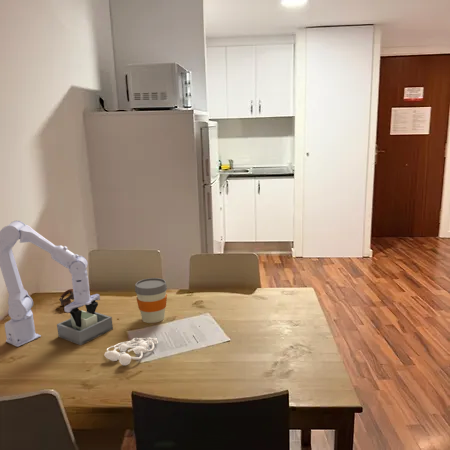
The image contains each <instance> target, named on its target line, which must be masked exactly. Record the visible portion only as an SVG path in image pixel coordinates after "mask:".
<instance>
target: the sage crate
mask: <svg viewBox="0 0 450 450" xmlns="http://www.w3.org/2000/svg"><path fill="white" fill-rule="evenodd" d="M80 310H81V309H80ZM81 311H82V313H81V327H78V326H76V323H75V321H74V319H73V317H72V315H71V314H70V318H71V323H72V327H73V328H76V329H79V330H83V329H85V328H87V327H89V326H91V325H94V324H96V323H97V315H95V314H92V313H89V312H86V311H87V310H86V311H85V310H81Z"/></svg>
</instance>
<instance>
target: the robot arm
mask: <svg viewBox="0 0 450 450" xmlns="http://www.w3.org/2000/svg"><path fill="white" fill-rule="evenodd" d="M18 241H19V243H20V244H21V243H31V244H33V245H35V246H36V247H38V248H40V249H41V250H43V251H45V252H47V253H48V254H50V257H51V259H52V260H54V262H56V263H58V264H60V265H62V266H63V267H65V268H66V269H68V272H69V273H70V274H71V282H72V283H71V284H72V289H73V294H74V300H73V301H71V303H70V304H66V305H64V308H63V309H64V312H65V313H69V314H70V316H71V315H72V317H73V319H74V321H75V323H76V326H78V327H81V313H82V311H81V309H79V308H81V307H83V306H85V308H86V309H85V310H86V311H87V312H89V313H92V314H95V312H96V310H97V308H98V305H99V303H98V301H99V300H101V296H100V294H99V293H95V294H92V295H91V294H90V293H91V292H90V283H89V282H90V281H89V277H88V276H89V275H88V269H87V268H88V264H89V262H88V260H87V259H86V257H84V255H79V254H77V253H74V252H72V251H71V250H69V249H68V248H69V247H68V246H66V245H64V246H63V245H61V244H60V245H56V244H54V243H53V242H52V241H50V240H49V239H47V238H45V237H44V236H43V235H42V234H40V233H39V232H37V231H36V230H35V229H34V228H32V227H31V226H30V225H29V224H25V222H23V221H21V220H14V221H11V222H10V223H9V224H7V225H6V226H4V227H2V228H1V229H0V271H1V274H2V278H3V281H4V284H5V287H6V290H7V293H8V298H7V304H8V311H7V313H8V317H10V319H9V320H8V321H6V322H5V323H4V331H5V337H6V340H5V342H6V343H8V344H10V345H13V346H15V347H20V346H22V345H25V344H27V343H29V342H32V341H34V340H36V339H39V338H41V336H42V335H41V334H39V333H36V326H35V321H34V313H33V310H32V307H33V306H34V301H33V298H32V297H31V296H30V295H29V293H28V290H26V289H25V288H24V285H23V282H22V277H21V275H20V272H19V269H18V265H17V261H16V258H15V256H14V252H13V247H14V246H16V244H17V242H18Z"/></svg>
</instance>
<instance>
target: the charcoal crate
mask: <svg viewBox="0 0 450 450" xmlns="http://www.w3.org/2000/svg"><path fill="white" fill-rule="evenodd" d="M86 312H87V310H86ZM95 315H97V323H96V324H94V325H91V326H89V327H87V328H85V329H83V330H79V329H76V328H73V327H72V323H71V317H69V318H68V319H65V320H64V321H62V322H59V323H56V326H57V335H58V338H61V339H64V340H65V341H69V342H71V343H73V344H76V345H79V346H82V345H84V344H87V343H88V342H90V341H93V340H94V339H97V338H98V337H100V336H102V335H104V334H107V333H108V332H111V331H112V330H113V329H114V328H113V327H114V326H113V317H112V316H109V315H107V314H103V313H100V312H96V311H95Z"/></svg>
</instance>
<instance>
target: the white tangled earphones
mask: <svg viewBox="0 0 450 450" xmlns="http://www.w3.org/2000/svg"><path fill="white" fill-rule="evenodd" d="M157 344H159V341H158V338H157V337H144V338H142V337H133V338H132V339H131V340H127V341H122V342H119V343H116V344H115V345H111V346H110V347H107V348H106V351H105V352H104V357H105V358H106V359H108V360H109V361H111V362H116V361H118V360H119V361H118V362H119V363H120V365H122V366H127V365H129V364H130V363H131V361H132V360H140V359H142V358H143V356H144V354H146V353H150V352H153V351H154V350H155V345H157ZM149 346H151V349H149ZM111 348H112V349H113V350H110V349H111ZM117 350H119V352H118V351H117ZM132 351H133V352H134V354H135V355H139V357H138V356H131V355H130V354H129V353H130V352H132ZM127 352H128V353H127Z"/></svg>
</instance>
